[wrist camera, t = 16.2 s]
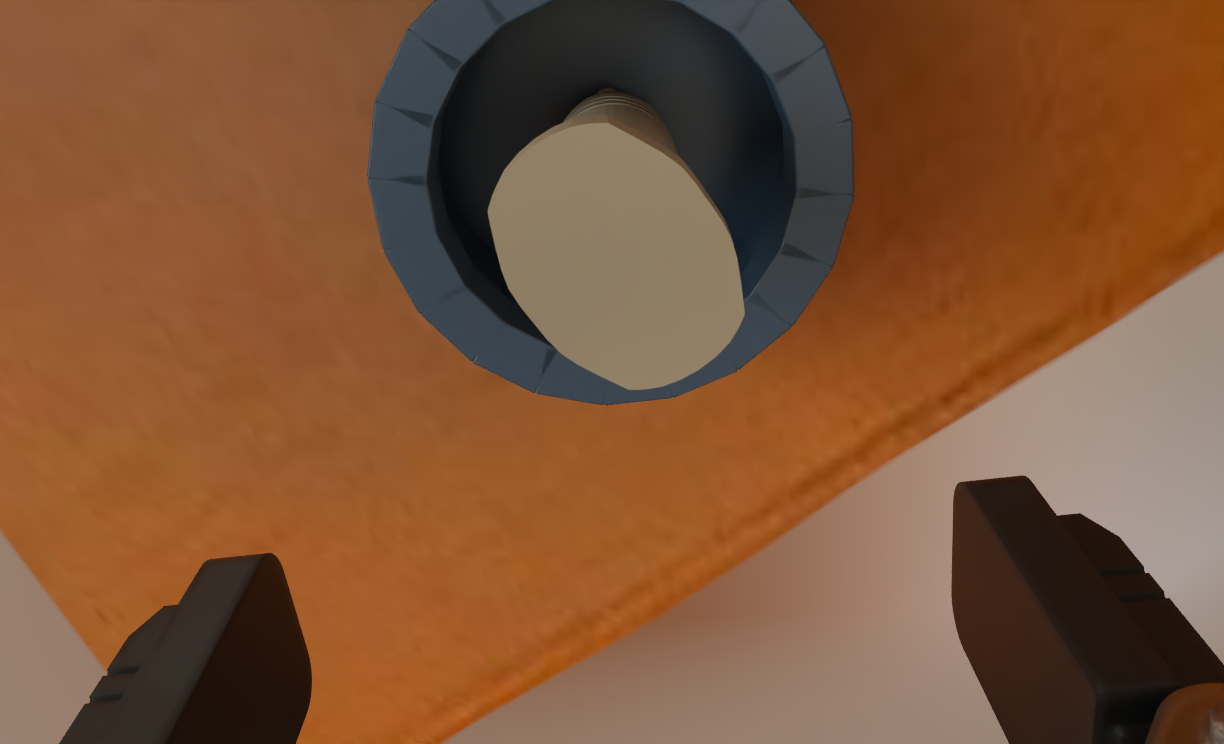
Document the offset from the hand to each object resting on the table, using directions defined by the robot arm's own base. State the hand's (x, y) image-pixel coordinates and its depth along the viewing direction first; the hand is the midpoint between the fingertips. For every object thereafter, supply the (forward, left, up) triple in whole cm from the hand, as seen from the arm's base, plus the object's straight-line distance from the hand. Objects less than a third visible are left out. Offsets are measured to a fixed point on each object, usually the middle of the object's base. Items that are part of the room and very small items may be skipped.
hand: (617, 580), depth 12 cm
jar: (0, 0, -27) cm, 27 cm away
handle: (0, 0, -27) cm, 27 cm away
